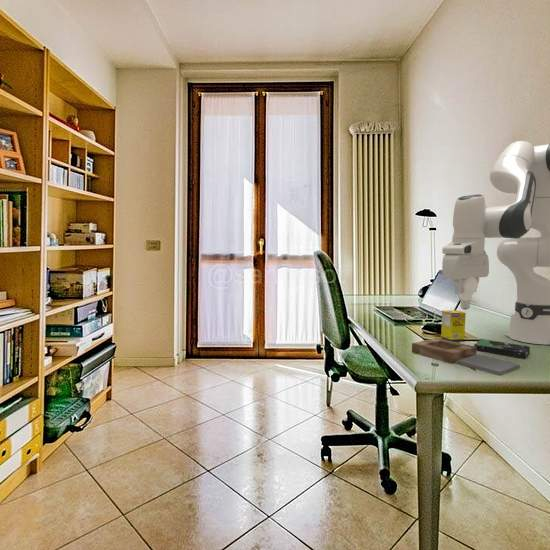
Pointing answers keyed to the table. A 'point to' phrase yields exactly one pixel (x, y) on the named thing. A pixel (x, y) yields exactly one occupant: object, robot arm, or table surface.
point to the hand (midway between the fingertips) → (465, 292)
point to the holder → (443, 349)
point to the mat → (488, 364)
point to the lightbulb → (467, 291)
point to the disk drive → (502, 348)
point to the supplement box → (453, 325)
